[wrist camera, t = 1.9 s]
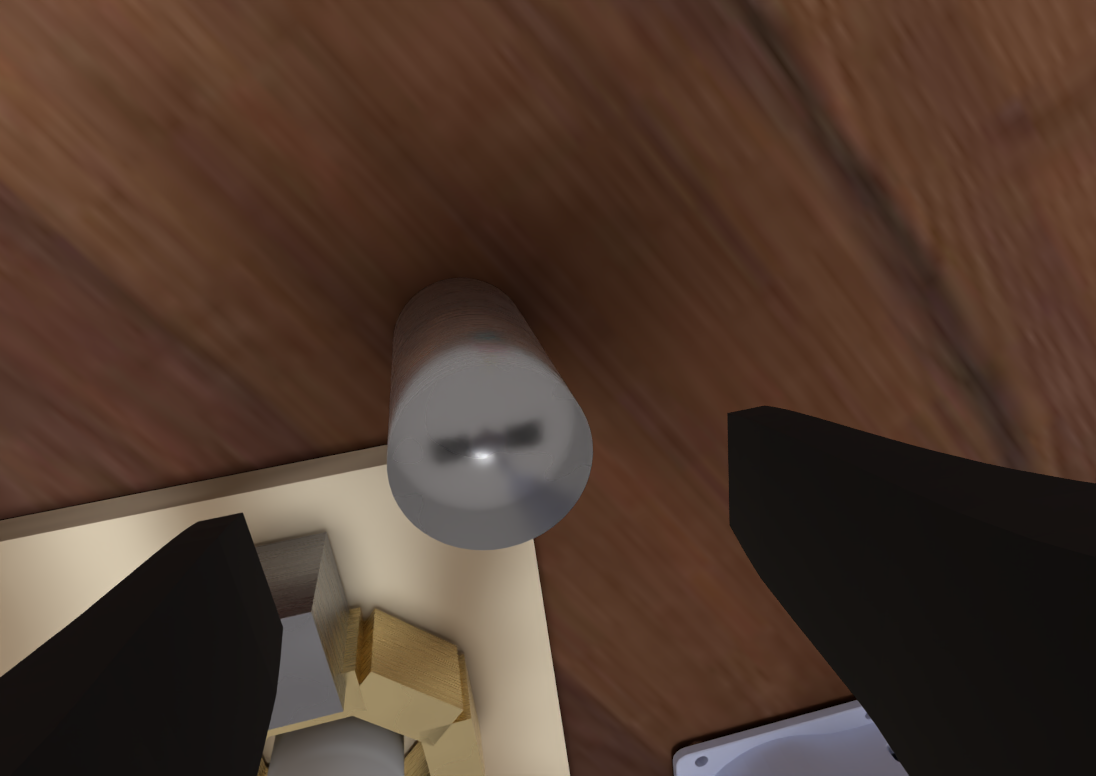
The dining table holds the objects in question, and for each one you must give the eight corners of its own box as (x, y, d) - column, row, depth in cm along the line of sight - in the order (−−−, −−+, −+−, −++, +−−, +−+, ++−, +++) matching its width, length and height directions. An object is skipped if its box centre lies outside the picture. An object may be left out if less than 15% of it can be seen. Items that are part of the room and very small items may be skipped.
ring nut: (432, 509, 18) (437, 582, 15) (491, 777, 22) (504, 876, 19) (125, 574, 17) (67, 666, 14) (245, 843, 21) (220, 958, 18)
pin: (517, 267, 18) (582, 346, 11) (534, 392, 19) (601, 526, 13) (379, 289, 17) (365, 386, 11) (408, 416, 18) (410, 569, 12)
